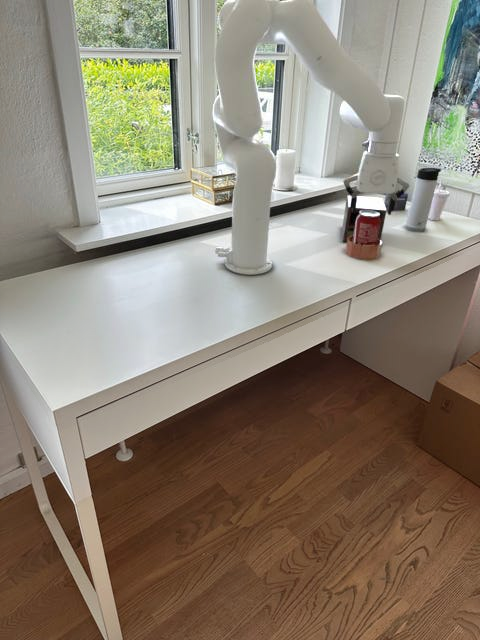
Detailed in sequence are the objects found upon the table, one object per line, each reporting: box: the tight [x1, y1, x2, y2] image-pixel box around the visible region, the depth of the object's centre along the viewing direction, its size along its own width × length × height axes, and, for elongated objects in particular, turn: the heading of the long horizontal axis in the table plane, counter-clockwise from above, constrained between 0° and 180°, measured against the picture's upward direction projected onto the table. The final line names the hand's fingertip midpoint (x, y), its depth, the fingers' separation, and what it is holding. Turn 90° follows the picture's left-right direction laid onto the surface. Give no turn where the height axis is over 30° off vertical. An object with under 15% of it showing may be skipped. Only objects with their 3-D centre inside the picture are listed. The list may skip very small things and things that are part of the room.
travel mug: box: [405, 167, 442, 233], centre depth 152 cm, size 6×7×20 cm
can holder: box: [345, 234, 383, 261], centre depth 136 cm, size 10×10×4 cm
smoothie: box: [428, 178, 451, 221], centre depth 164 cm, size 6×6×14 cm
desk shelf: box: [341, 194, 387, 244], centre depth 146 cm, size 11×13×11 cm
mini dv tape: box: [384, 192, 409, 212], centre depth 174 cm, size 8×2×6 cm, turn 103°
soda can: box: [352, 210, 381, 246], centre depth 134 cm, size 7×7×12 cm
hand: (371, 212), depth 131 cm, fingers open, 9 cm apart
